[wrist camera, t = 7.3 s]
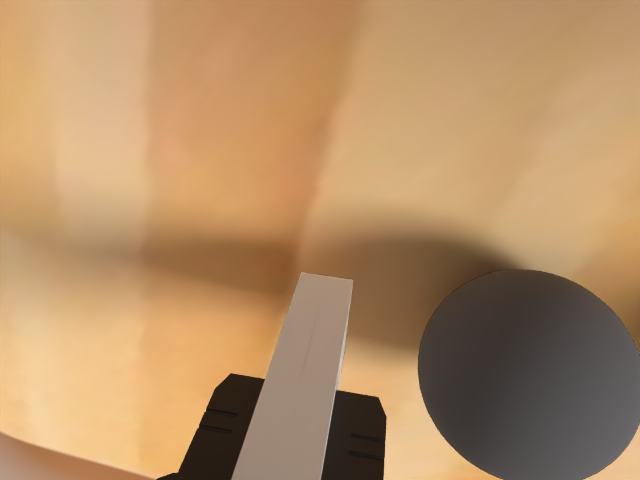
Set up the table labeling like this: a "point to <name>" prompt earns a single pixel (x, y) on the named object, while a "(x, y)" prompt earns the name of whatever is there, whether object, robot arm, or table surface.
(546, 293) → the dark gray ball
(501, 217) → the table surface
